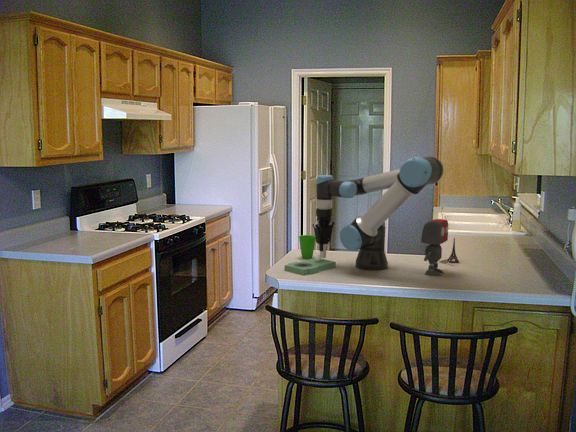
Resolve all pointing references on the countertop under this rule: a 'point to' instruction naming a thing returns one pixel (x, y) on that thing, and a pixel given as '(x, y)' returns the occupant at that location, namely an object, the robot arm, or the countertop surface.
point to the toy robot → (434, 243)
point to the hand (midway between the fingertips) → (322, 257)
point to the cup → (307, 246)
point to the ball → (317, 258)
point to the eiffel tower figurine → (451, 256)
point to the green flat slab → (309, 266)
